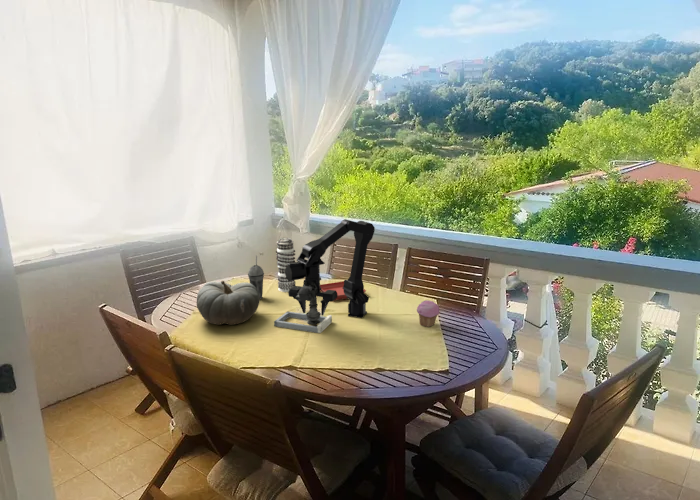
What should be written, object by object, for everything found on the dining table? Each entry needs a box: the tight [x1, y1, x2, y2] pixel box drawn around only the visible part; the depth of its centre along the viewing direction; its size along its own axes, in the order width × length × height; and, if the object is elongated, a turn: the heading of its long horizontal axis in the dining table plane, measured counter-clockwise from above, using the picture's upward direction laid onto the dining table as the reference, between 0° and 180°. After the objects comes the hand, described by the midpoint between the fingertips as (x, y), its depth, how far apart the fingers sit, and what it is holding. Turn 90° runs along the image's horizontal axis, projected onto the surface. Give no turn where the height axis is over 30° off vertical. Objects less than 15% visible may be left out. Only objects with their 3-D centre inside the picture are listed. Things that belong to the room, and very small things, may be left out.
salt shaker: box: [305, 297, 322, 326], centre depth 194 cm, size 6×6×12 cm
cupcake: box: [416, 299, 441, 328], centre depth 194 cm, size 9×9×10 cm
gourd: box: [196, 280, 261, 326], centre depth 201 cm, size 25×25×17 cm
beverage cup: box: [247, 255, 265, 300], centre depth 224 cm, size 7×7×20 cm
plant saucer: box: [320, 280, 367, 302], centre depth 232 cm, size 18×18×3 cm
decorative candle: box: [275, 237, 296, 293], centre depth 235 cm, size 9×9×25 cm
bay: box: [273, 311, 333, 334], centre depth 197 cm, size 20×11×3 cm, turn 70°
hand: (313, 314), depth 194 cm, fingers closed on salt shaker, 7 cm apart
